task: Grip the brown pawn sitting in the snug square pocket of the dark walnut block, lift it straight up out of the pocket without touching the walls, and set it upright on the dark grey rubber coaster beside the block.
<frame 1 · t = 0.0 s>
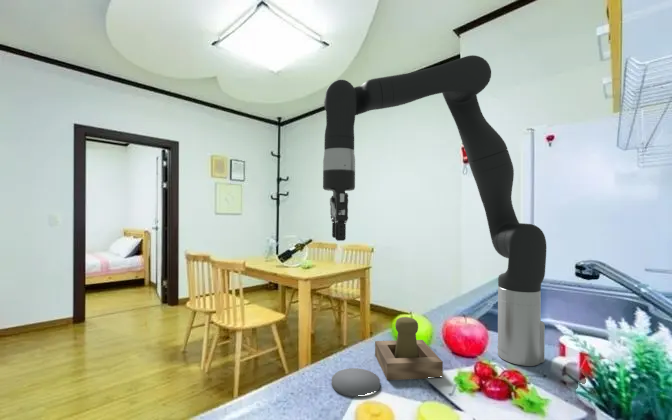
hand: (338, 239, 77), 29 cm above the countertop, tool pointing down, fingers open, 8 cm apart
brown pawn: (406, 366, 76), resting in pocket block
pocket block: (406, 365, 76), on the countertop
coaster: (355, 383, 68), on the countertop
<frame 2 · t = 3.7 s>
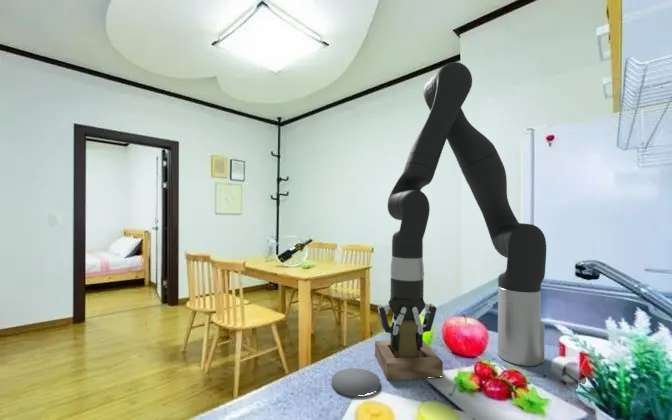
hand: (406, 349, 76), 4 cm above the countertop, tool pointing down, fingers closed on brown pawn, 4 cm apart
brown pawn: (406, 366, 76), resting in pocket block, touching gripper
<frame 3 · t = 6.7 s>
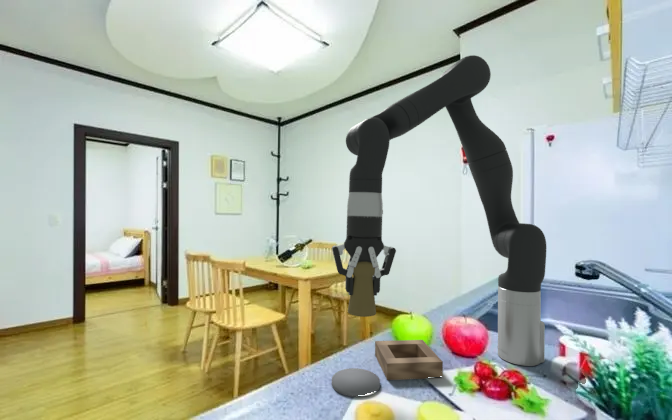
hand: (362, 294, 70), 18 cm above the countertop, tool pointing down, fingers closed on brown pawn, 4 cm apart
brown pawn: (361, 313, 70), point 14 cm above the countertop, touching gripper
when the fingers open (6 cm above the countertop, at t = 9.9 s): brown pawn drops 1 cm, resting on coaster.
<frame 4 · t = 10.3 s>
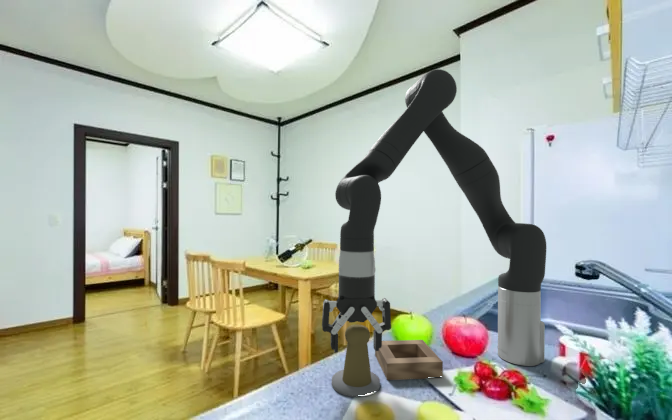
hand: (355, 350, 68), 7 cm above the countertop, tool pointing down, fingers open, 8 cm apart
brown pawn: (356, 380, 68), point 1 cm above the countertop, touching coaster
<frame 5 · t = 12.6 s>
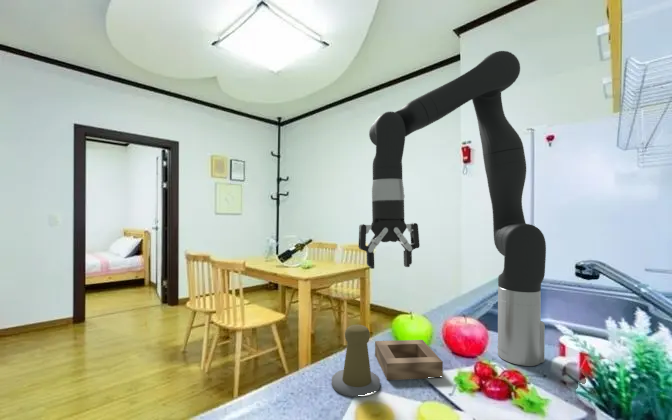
hand: (389, 267, 78), 23 cm above the countertop, tool pointing down, fingers open, 8 cm apart
nothing on the countertop moved.
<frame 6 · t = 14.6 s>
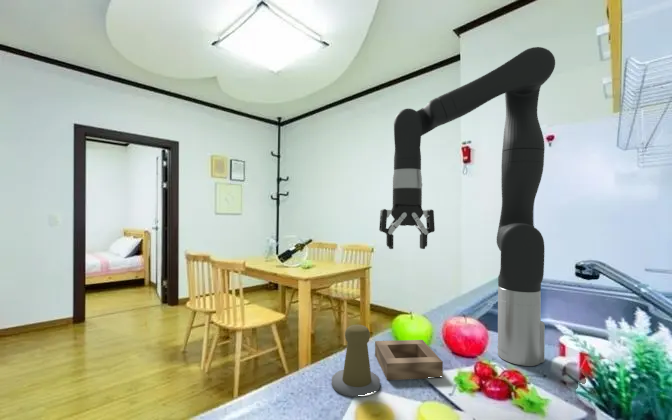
hand: (406, 248, 87), 26 cm above the countertop, tool pointing down, fingers open, 8 cm apart
nothing on the countertop moved.
at the end: brown pawn 0.3 cm off-centre on the coaster, point 0.6 cm above the coaster's base; brown pawn tilted 0°; the gripper is holding nothing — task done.
